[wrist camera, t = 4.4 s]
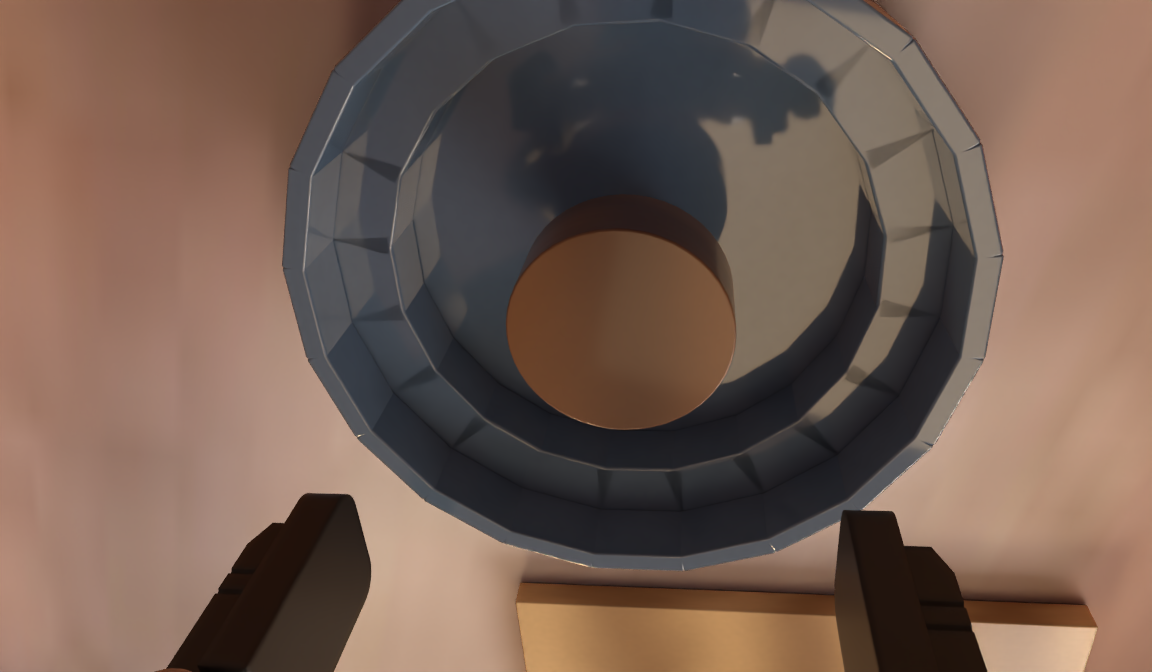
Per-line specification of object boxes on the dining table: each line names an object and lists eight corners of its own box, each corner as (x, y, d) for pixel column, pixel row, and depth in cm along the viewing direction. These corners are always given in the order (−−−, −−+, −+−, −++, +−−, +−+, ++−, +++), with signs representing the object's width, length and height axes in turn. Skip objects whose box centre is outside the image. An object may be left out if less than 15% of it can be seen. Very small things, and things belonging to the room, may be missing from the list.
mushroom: (550, 329, 26) (518, 429, 22) (532, 158, 24) (492, 231, 19) (729, 328, 25) (734, 432, 21) (731, 151, 23) (738, 225, 18)
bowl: (404, 467, 30) (359, 560, 27) (288, -64, 22) (197, -44, 18) (911, 477, 28) (945, 581, 24) (996, -119, 20) (1071, -110, 16)
